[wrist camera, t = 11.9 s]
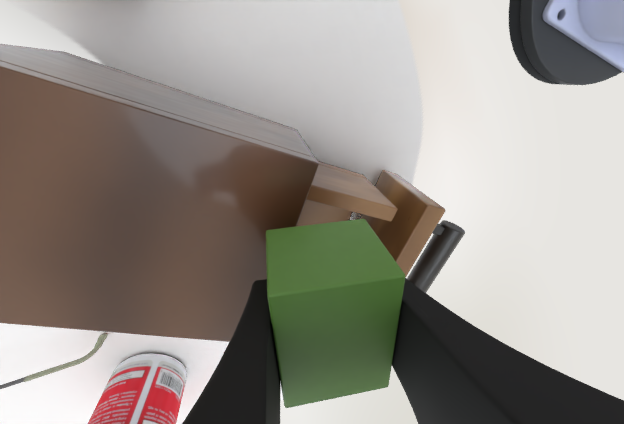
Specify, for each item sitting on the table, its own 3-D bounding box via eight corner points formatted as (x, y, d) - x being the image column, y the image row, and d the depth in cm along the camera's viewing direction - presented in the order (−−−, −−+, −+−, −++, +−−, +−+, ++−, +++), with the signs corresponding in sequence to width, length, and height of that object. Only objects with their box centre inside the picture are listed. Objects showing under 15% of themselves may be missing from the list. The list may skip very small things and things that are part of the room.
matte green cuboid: (359, 314, 12) (389, 388, 9) (279, 328, 12) (284, 409, 9) (364, 217, 10) (407, 274, 7) (265, 229, 9) (267, 296, 6)
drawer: (449, 190, 20) (512, 229, 15) (394, 284, 24) (430, 341, 19) (231, 120, 16) (217, 142, 10) (203, 251, 19) (182, 315, 14)
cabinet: (297, 129, 17) (319, 163, 11) (256, 260, 21) (253, 344, 15) (63, 51, 14) (-129, 27, 7) (66, 227, 18) (-53, 319, 11)
